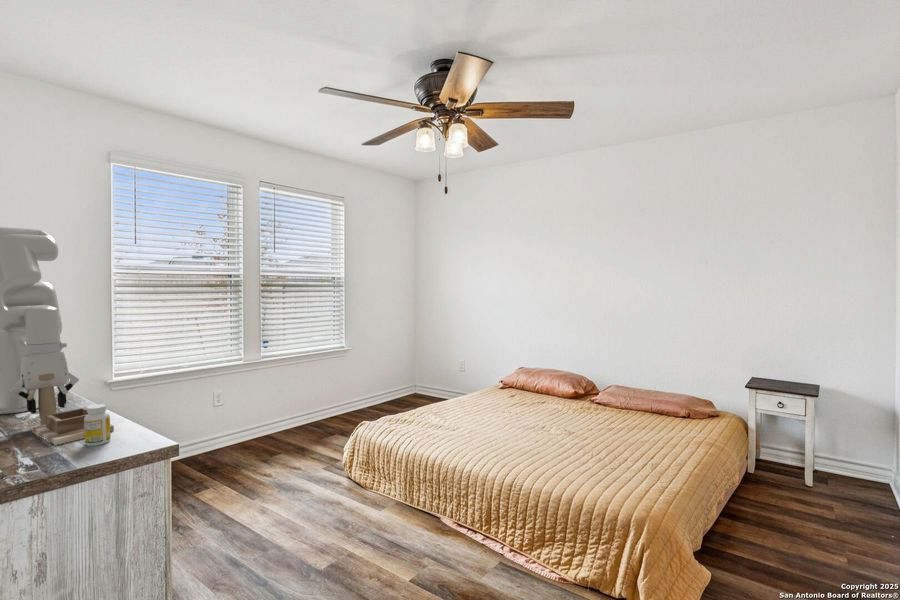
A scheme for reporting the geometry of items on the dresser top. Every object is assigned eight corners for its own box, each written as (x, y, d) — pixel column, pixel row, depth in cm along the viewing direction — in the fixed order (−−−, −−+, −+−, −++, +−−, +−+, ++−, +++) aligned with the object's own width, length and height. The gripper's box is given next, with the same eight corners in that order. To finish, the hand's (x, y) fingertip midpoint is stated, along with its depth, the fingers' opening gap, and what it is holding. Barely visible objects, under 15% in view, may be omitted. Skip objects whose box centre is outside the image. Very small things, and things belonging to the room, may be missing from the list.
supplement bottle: (93, 447, 116) (91, 410, 115) (80, 444, 118) (78, 408, 117) (115, 440, 121) (114, 404, 120) (102, 437, 123) (100, 402, 122)
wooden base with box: (32, 432, 127) (31, 414, 127) (88, 419, 138) (88, 403, 138) (54, 445, 117) (53, 426, 117) (113, 430, 128) (113, 413, 128)
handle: (36, 428, 131) (33, 376, 130) (37, 422, 136) (34, 372, 135) (58, 424, 134) (55, 374, 133) (59, 419, 139) (56, 370, 138)
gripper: (75, 344, 143) (78, 401, 144) (-1, 352, 128) (3, 415, 129) (84, 346, 138) (87, 404, 139) (7, 354, 124) (11, 419, 125)
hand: (47, 409), depth 134 cm, fingers open, 5 cm apart
